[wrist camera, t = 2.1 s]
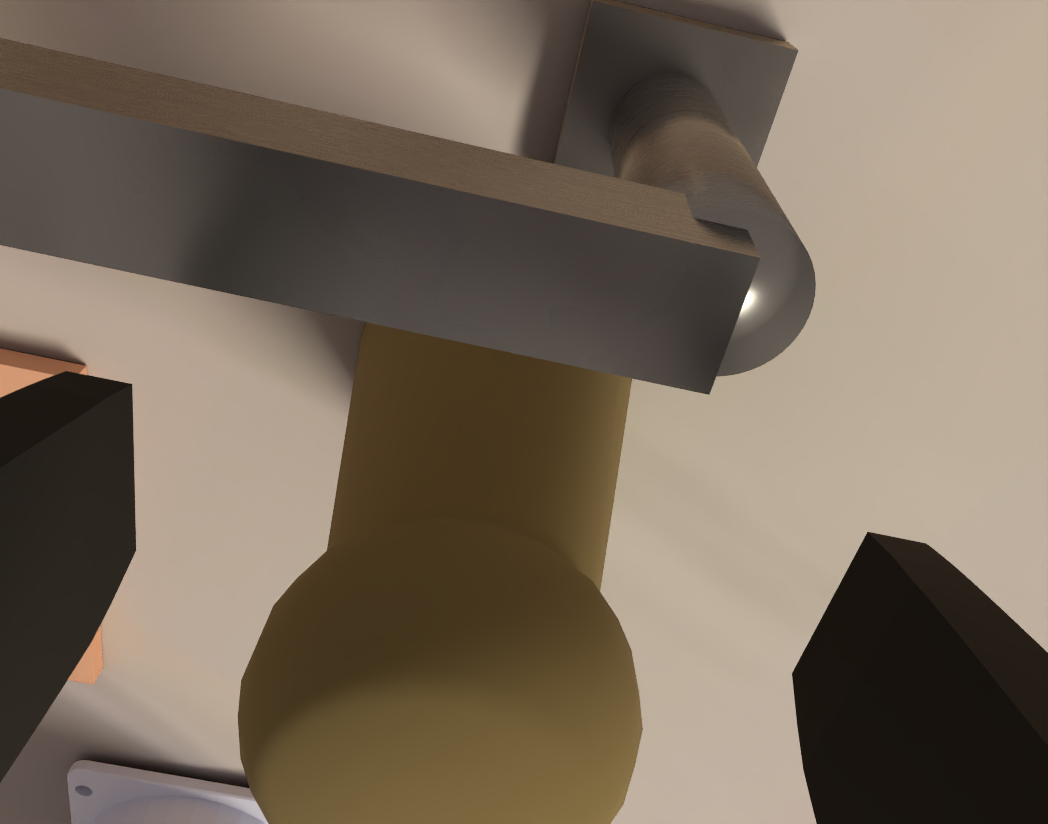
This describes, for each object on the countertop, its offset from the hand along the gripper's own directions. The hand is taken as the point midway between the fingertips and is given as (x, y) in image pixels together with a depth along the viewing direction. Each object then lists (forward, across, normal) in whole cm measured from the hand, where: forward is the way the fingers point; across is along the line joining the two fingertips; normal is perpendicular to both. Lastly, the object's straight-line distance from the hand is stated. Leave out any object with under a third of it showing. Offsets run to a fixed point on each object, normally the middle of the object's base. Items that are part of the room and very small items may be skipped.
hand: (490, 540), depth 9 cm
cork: (+10, 0, +4) cm, 11 cm away
